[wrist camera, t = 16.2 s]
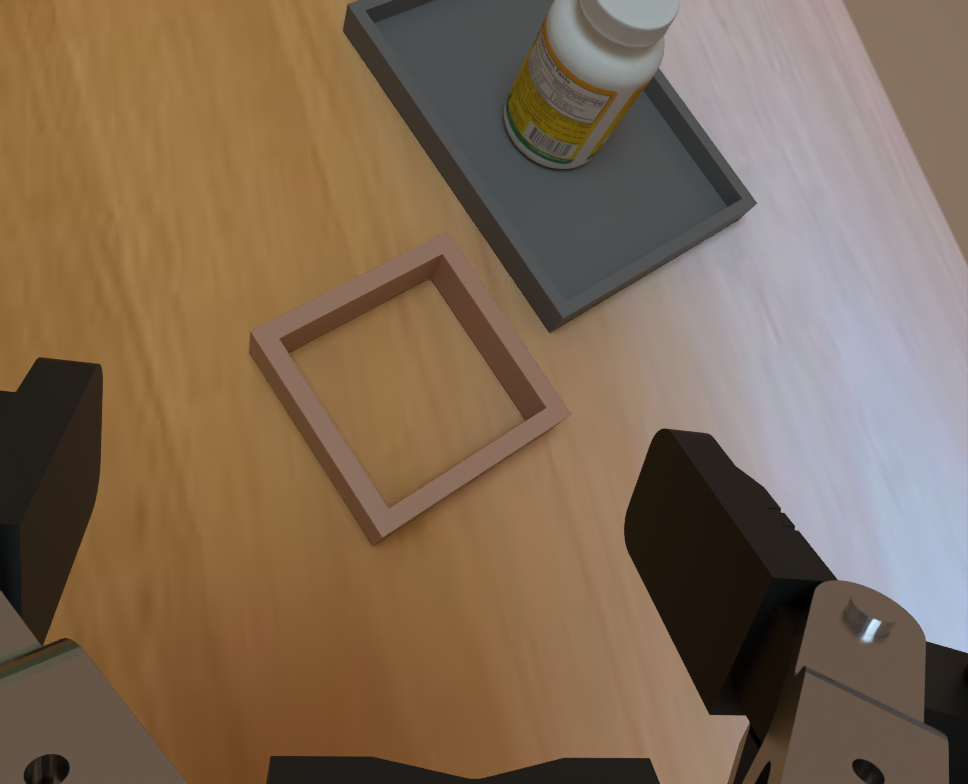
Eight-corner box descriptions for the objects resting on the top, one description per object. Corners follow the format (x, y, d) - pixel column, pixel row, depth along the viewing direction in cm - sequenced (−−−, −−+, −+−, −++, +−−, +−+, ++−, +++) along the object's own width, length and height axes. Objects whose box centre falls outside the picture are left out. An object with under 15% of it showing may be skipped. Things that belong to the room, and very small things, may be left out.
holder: (249, 352, 36) (250, 331, 34) (434, 256, 40) (447, 231, 38) (372, 545, 35) (382, 537, 33) (551, 429, 39) (571, 414, 37)
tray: (343, 30, 42) (347, 4, 41) (545, -46, 47) (557, -72, 46) (549, 332, 40) (563, 318, 39) (737, 220, 45) (757, 203, 44)
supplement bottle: (523, 181, 42) (601, 51, 33) (485, 86, 43) (551, -64, 34) (618, 162, 44) (715, 34, 35) (579, 72, 45) (665, -74, 36)
